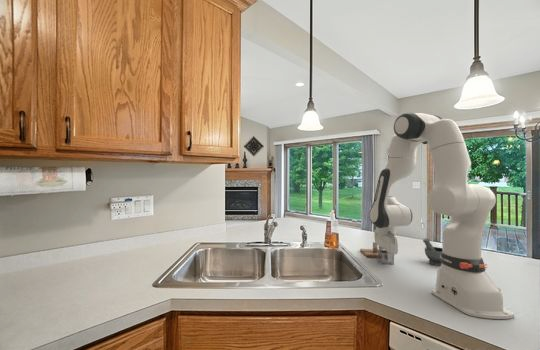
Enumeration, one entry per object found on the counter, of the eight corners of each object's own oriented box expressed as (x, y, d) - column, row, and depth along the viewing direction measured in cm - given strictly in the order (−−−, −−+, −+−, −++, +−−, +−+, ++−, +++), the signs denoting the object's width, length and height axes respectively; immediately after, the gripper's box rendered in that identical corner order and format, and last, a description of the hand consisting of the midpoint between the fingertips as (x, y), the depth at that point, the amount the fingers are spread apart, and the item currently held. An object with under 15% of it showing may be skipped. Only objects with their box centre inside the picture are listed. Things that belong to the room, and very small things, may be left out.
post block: (391, 258, 132) (391, 246, 132) (367, 257, 133) (367, 245, 133) (382, 251, 144) (382, 240, 144) (360, 250, 145) (360, 239, 145)
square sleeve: (394, 264, 124) (394, 253, 124) (381, 263, 124) (382, 253, 124) (389, 260, 129) (389, 250, 129) (377, 260, 130) (377, 249, 130)
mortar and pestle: (440, 260, 130) (441, 236, 130) (453, 267, 120) (453, 241, 120) (417, 260, 130) (418, 236, 130) (428, 266, 121) (429, 240, 121)
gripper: (402, 234, 116) (401, 265, 116) (384, 225, 137) (384, 252, 137) (387, 234, 116) (387, 265, 117) (372, 225, 137) (371, 251, 137)
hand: (385, 258), depth 127 cm, fingers open, 8 cm apart
